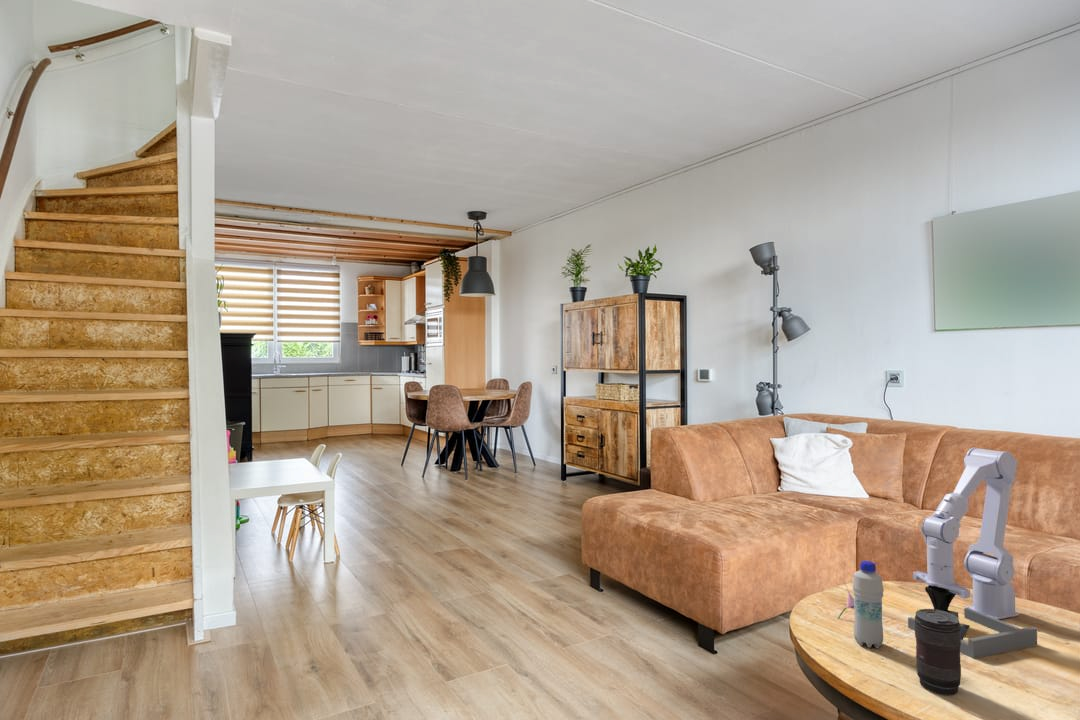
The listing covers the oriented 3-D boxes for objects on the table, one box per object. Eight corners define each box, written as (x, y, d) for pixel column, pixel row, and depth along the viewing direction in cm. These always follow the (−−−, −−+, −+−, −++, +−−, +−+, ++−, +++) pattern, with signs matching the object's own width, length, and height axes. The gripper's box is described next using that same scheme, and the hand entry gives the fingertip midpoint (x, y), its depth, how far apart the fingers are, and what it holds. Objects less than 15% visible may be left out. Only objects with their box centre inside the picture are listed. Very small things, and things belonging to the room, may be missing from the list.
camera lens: (906, 678, 131) (905, 608, 131) (941, 676, 131) (940, 607, 131) (934, 699, 123) (933, 624, 123) (971, 696, 123) (970, 623, 123)
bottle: (883, 640, 148) (882, 558, 148) (885, 652, 142) (884, 567, 142) (852, 635, 151) (851, 555, 151) (853, 647, 145) (852, 563, 145)
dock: (967, 616, 161) (967, 601, 161) (1037, 645, 145) (1036, 628, 145) (908, 627, 155) (907, 611, 155) (973, 658, 139) (973, 641, 139)
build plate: (938, 619, 161) (938, 602, 161) (972, 627, 156) (972, 609, 156) (929, 635, 152) (929, 616, 152) (964, 644, 147) (964, 624, 147)
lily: (862, 637, 152) (881, 604, 152) (817, 607, 160) (835, 576, 160) (869, 635, 162) (886, 604, 162) (826, 607, 169) (842, 577, 169)
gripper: (904, 556, 164) (904, 607, 164) (954, 574, 150) (955, 629, 150) (924, 554, 166) (925, 603, 166) (976, 571, 152) (976, 625, 152)
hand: (940, 615), depth 158 cm, fingers closed
